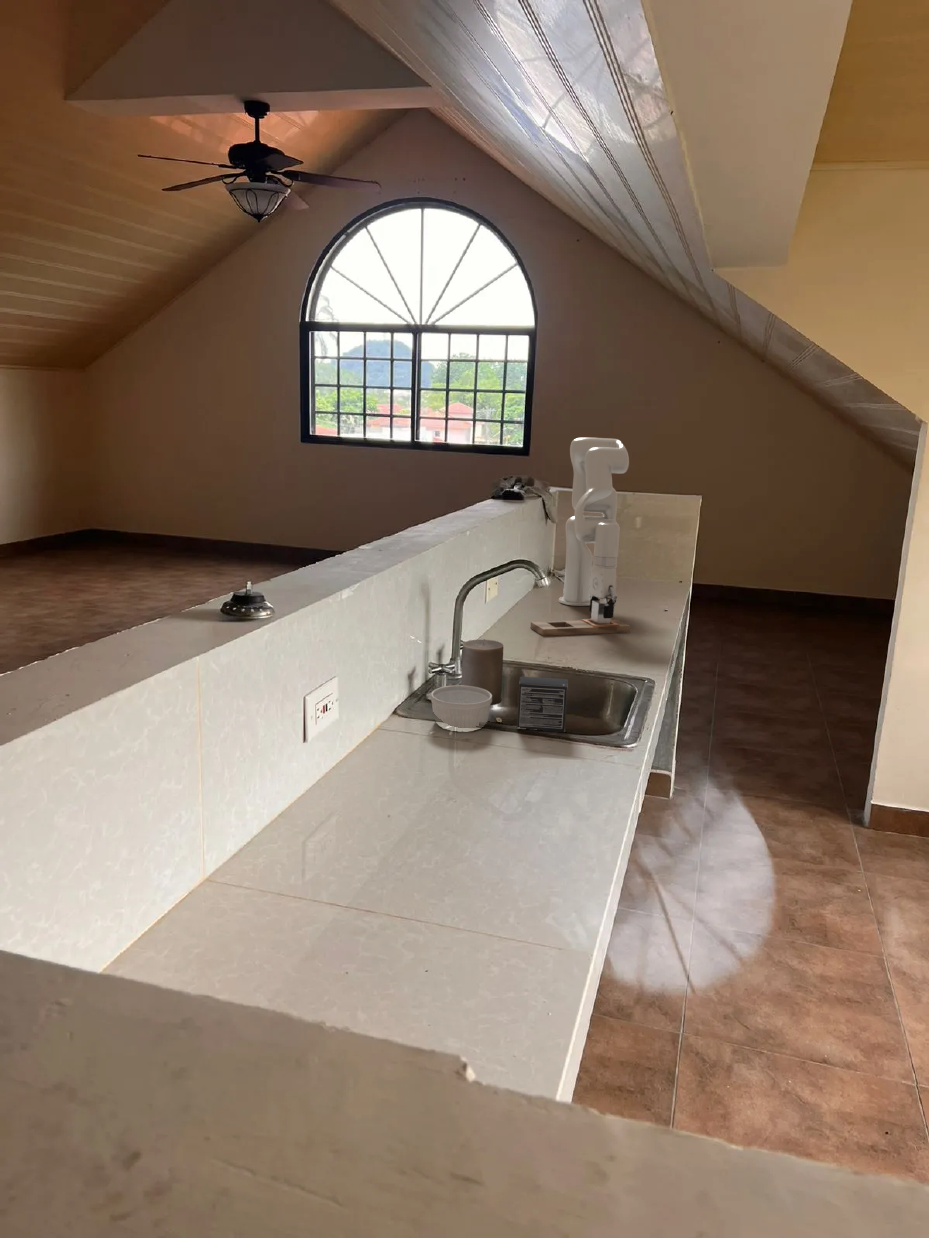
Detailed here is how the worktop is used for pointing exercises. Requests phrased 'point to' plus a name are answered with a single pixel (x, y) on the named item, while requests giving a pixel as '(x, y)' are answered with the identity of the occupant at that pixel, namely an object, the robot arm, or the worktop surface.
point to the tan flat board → (578, 627)
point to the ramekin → (461, 705)
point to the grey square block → (598, 613)
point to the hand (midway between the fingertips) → (601, 614)
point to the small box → (542, 703)
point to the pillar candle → (483, 666)
